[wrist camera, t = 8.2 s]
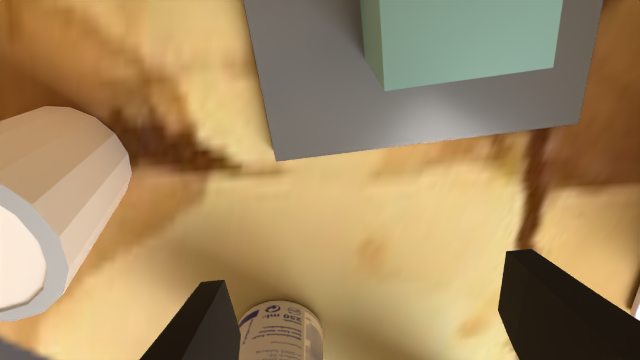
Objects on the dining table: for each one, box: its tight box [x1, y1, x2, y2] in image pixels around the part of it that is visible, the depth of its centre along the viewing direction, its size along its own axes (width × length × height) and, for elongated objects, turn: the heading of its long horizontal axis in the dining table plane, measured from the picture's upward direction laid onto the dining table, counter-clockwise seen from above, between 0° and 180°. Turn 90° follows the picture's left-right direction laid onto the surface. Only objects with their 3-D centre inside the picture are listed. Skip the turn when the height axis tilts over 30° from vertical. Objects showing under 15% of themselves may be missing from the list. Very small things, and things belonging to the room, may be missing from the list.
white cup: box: [0, 106, 132, 321], centre depth 16 cm, size 7×7×7 cm
